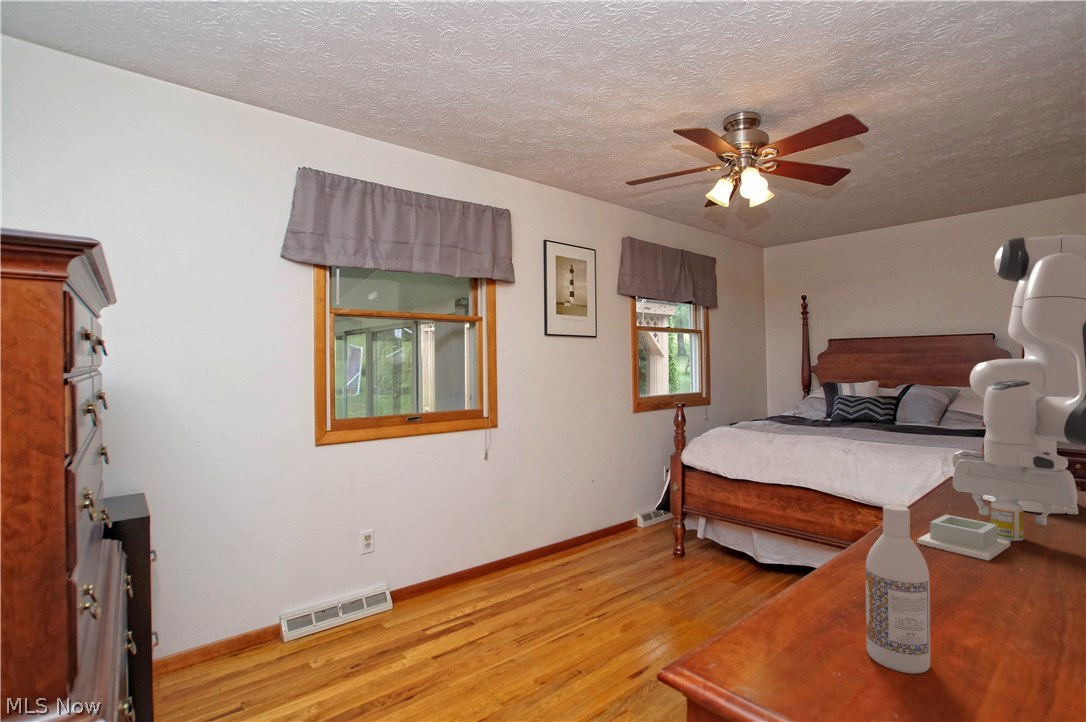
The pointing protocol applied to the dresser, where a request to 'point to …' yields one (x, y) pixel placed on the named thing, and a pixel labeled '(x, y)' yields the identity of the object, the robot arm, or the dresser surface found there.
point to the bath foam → (898, 597)
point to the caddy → (965, 537)
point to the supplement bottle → (1008, 518)
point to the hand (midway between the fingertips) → (1011, 519)
